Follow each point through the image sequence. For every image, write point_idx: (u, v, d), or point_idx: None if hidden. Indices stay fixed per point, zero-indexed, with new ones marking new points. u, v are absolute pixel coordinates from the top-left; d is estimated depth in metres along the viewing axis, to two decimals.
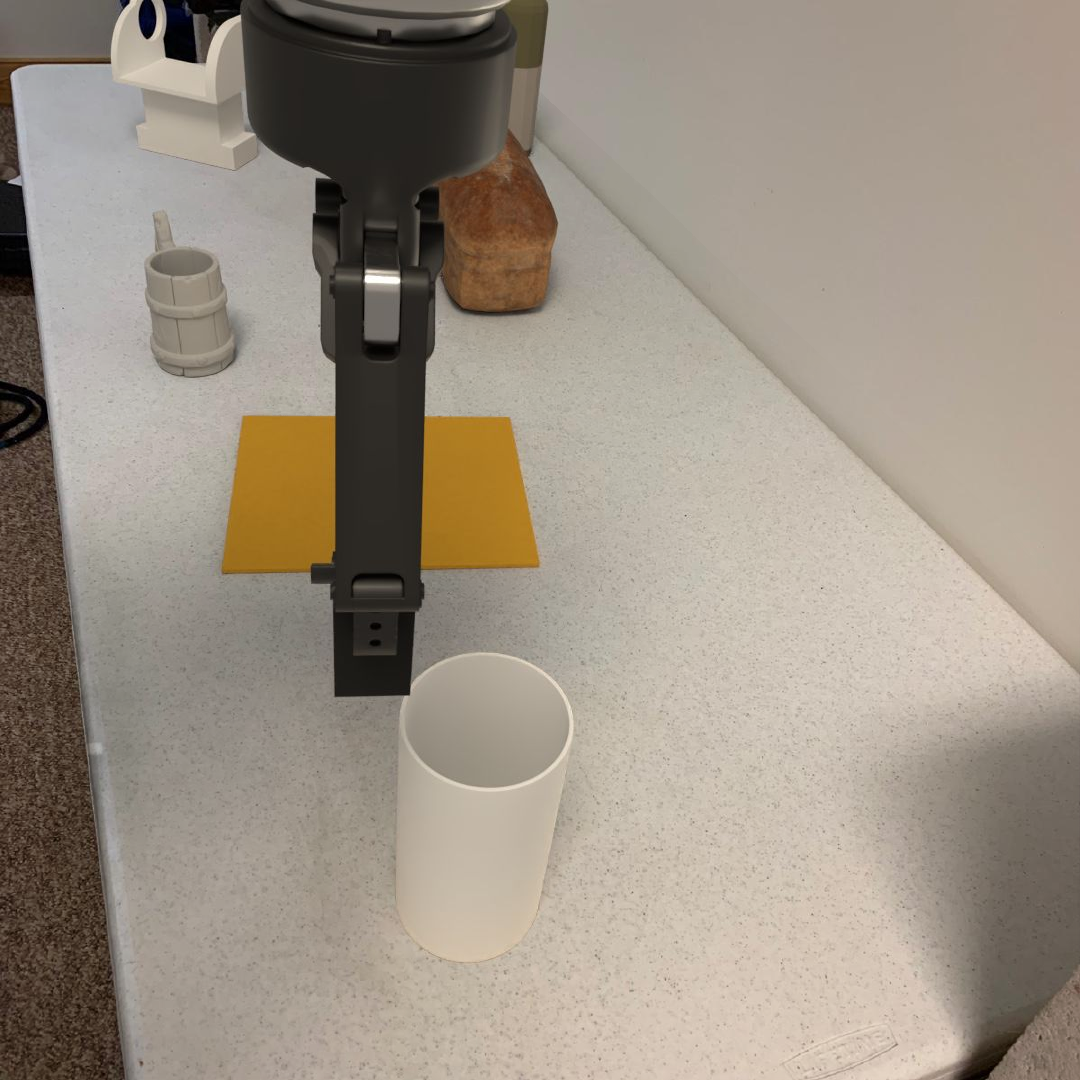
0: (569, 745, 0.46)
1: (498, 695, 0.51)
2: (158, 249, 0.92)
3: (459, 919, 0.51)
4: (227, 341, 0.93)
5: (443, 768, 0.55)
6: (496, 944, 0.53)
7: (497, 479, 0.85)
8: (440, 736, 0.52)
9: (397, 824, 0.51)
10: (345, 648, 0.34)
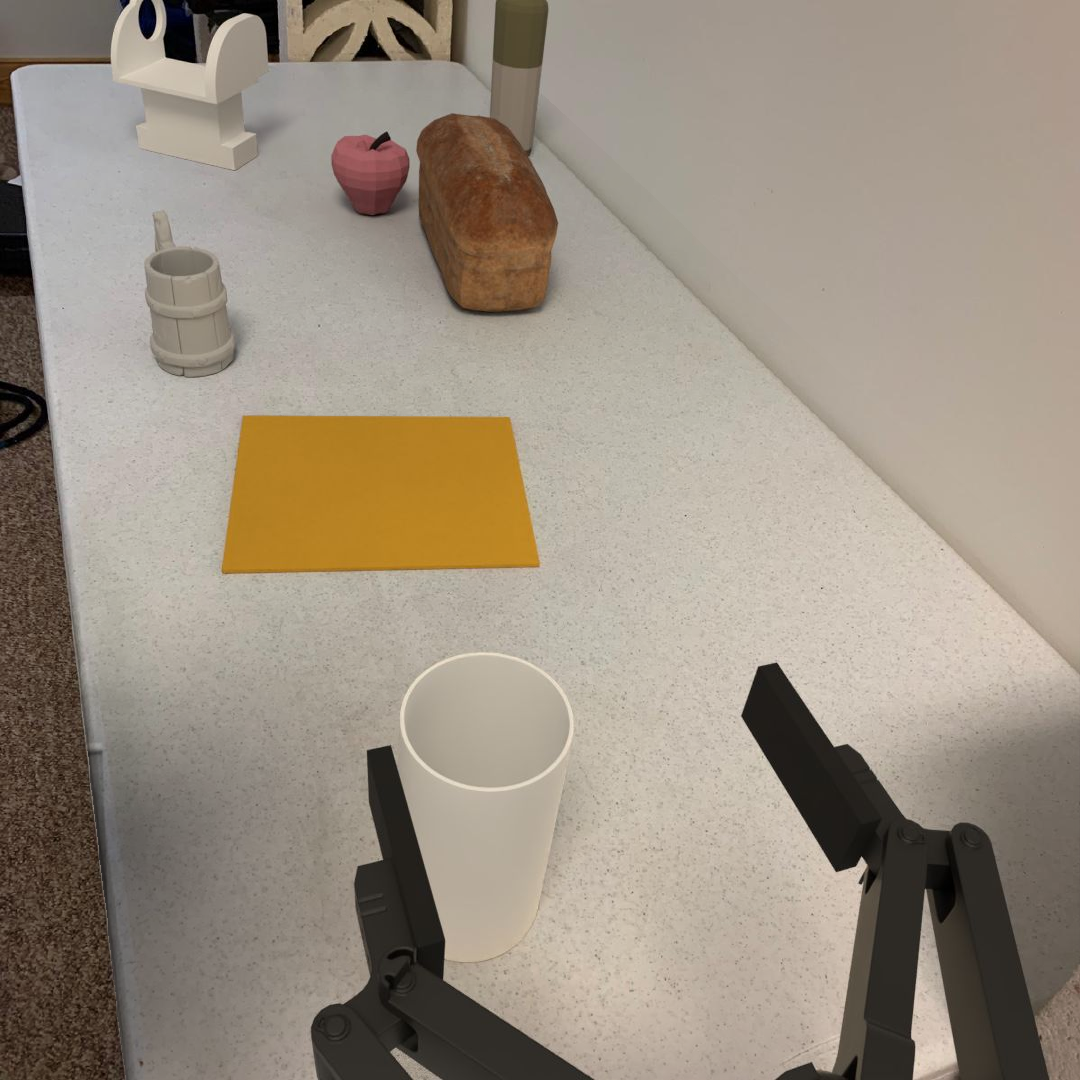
0: (569, 745, 0.46)
1: (499, 695, 0.51)
2: (158, 249, 0.92)
3: (459, 919, 0.51)
4: (227, 341, 0.93)
5: (443, 768, 0.55)
6: (496, 944, 0.53)
7: (497, 479, 0.85)
8: (441, 736, 0.52)
9: None
10: (385, 830, 0.29)
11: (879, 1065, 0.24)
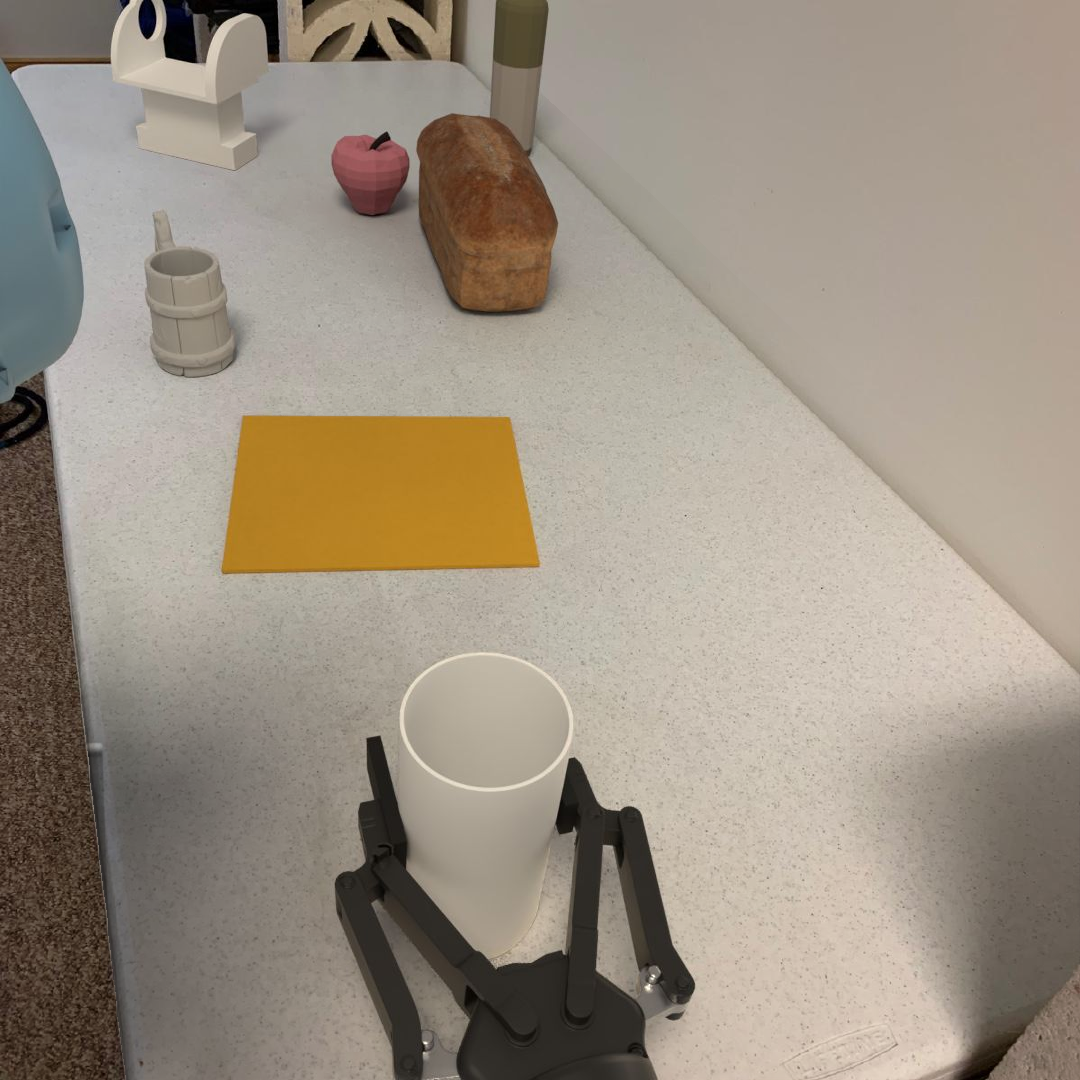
0: (569, 745, 0.46)
1: (498, 695, 0.51)
2: (158, 249, 0.92)
3: (459, 919, 0.51)
4: (227, 341, 0.93)
5: (443, 768, 0.55)
6: (496, 944, 0.53)
7: (497, 479, 0.85)
8: (440, 736, 0.52)
9: None
10: (375, 783, 0.51)
11: (579, 947, 0.45)
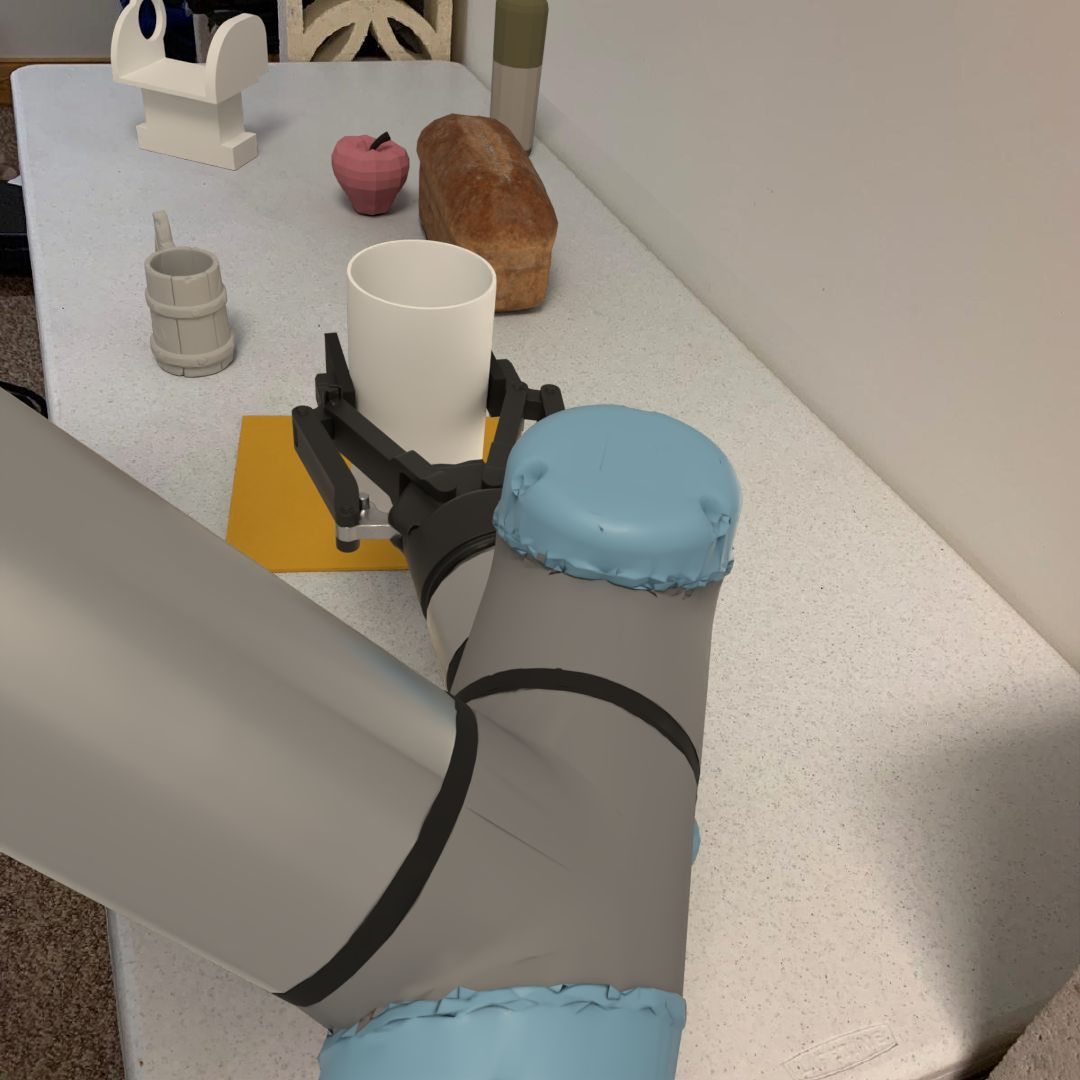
0: (491, 291, 0.54)
1: (438, 290, 0.59)
2: (158, 249, 0.92)
3: None
4: (227, 341, 0.93)
5: None
6: None
7: None
8: None
9: None
10: (331, 361, 0.59)
11: (496, 451, 0.53)
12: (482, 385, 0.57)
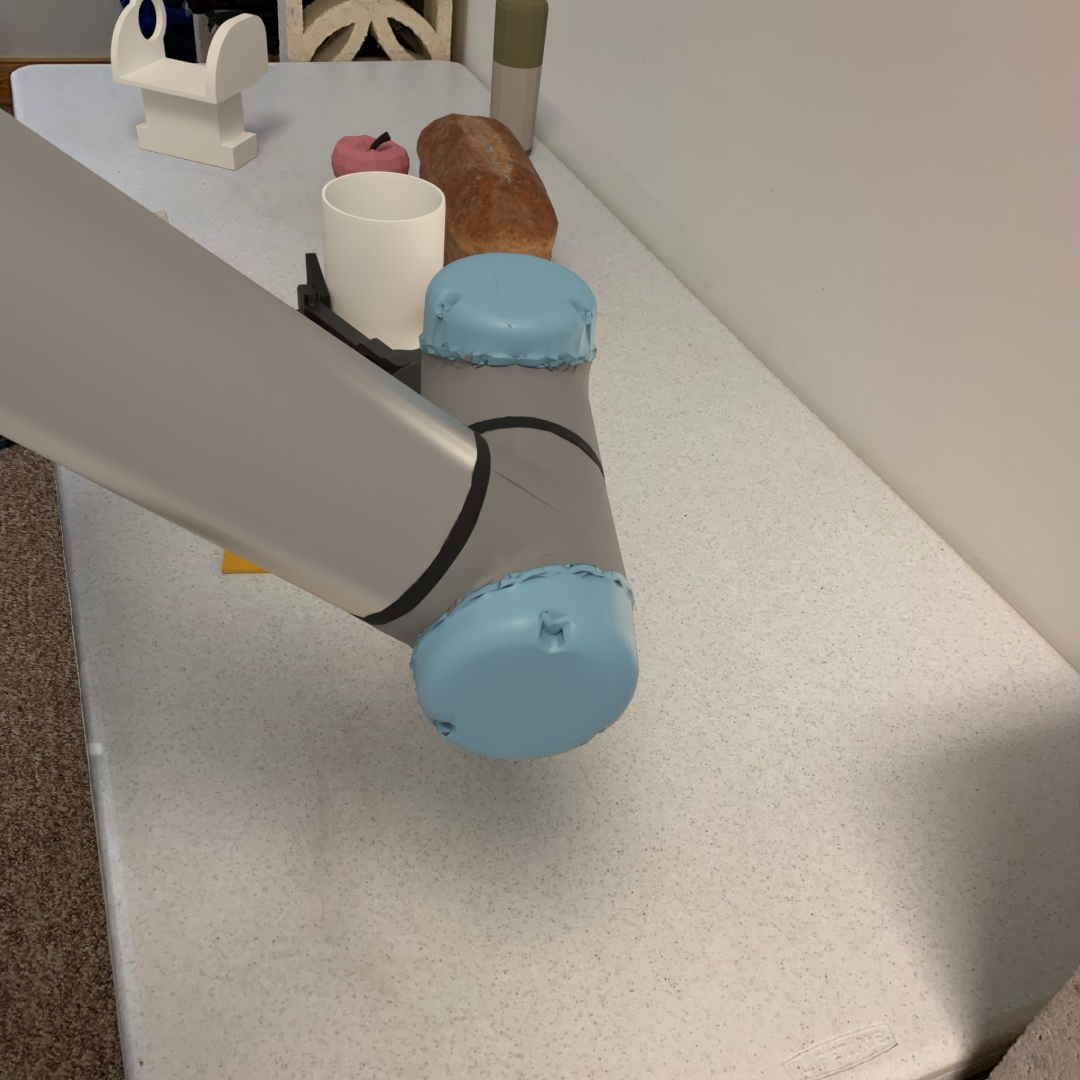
0: (440, 210, 0.66)
1: (399, 215, 0.71)
2: None
3: None
4: None
5: None
6: None
7: None
8: None
9: None
10: (310, 275, 0.70)
11: None
12: None
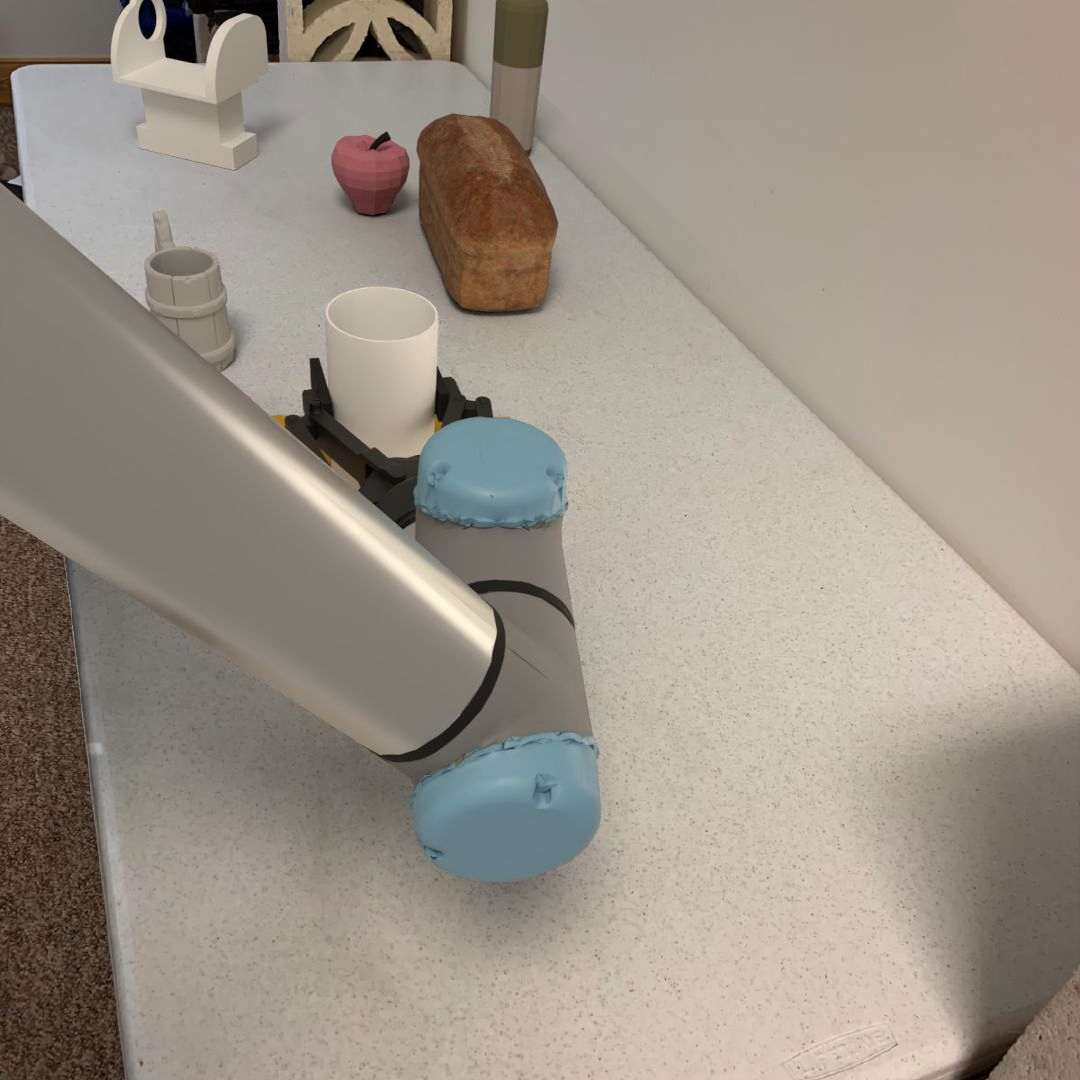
0: (433, 327, 0.72)
1: (396, 324, 0.77)
2: (158, 249, 0.92)
3: None
4: (227, 341, 0.93)
5: None
6: None
7: None
8: None
9: None
10: (314, 380, 0.77)
11: None
12: (429, 397, 0.75)
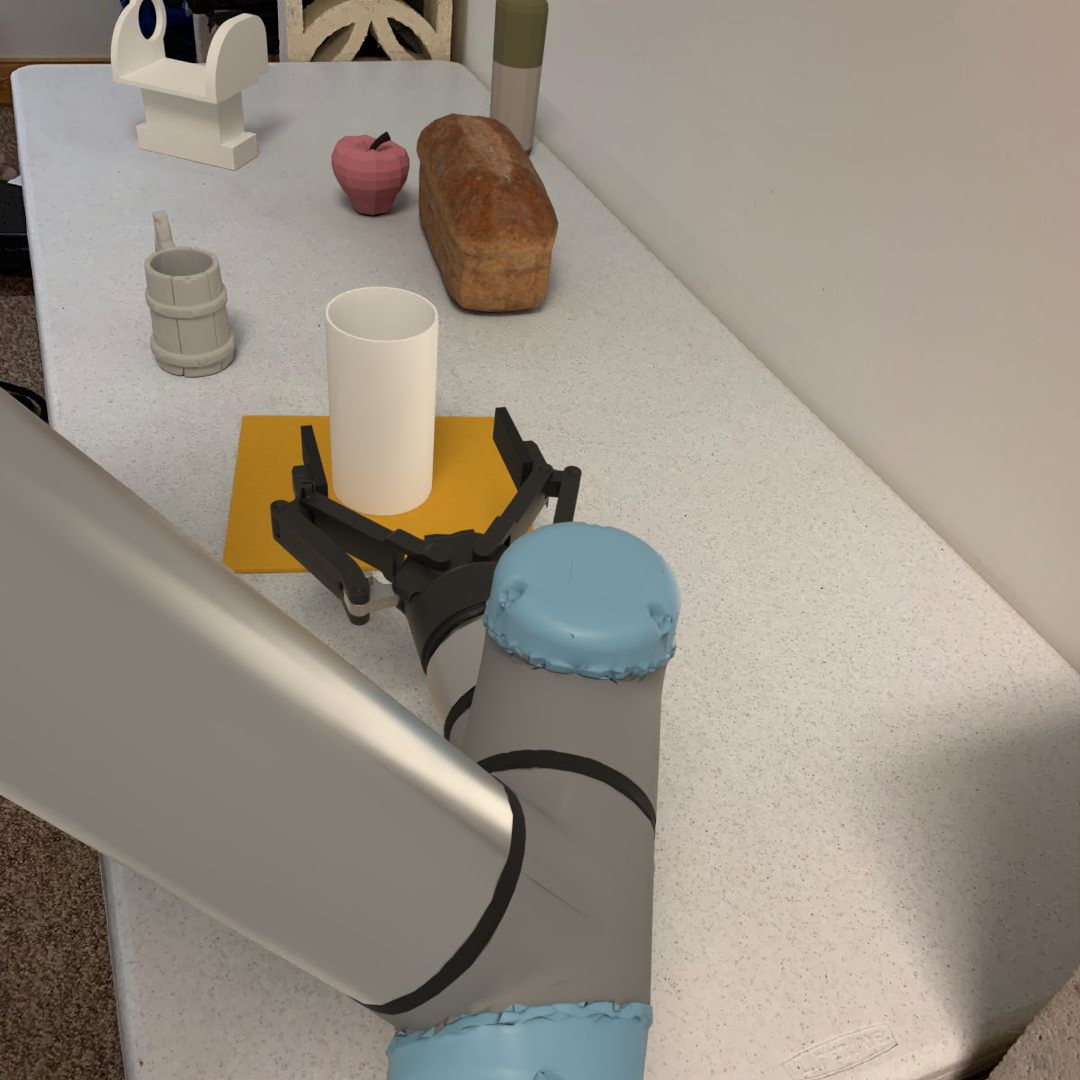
0: (433, 327, 0.72)
1: (396, 324, 0.77)
2: (158, 249, 0.92)
3: (369, 469, 0.77)
4: (227, 341, 0.93)
5: None
6: (397, 500, 0.79)
7: (497, 479, 0.85)
8: None
9: (329, 406, 0.77)
10: (306, 454, 0.65)
11: (497, 525, 0.60)
12: (429, 397, 0.75)
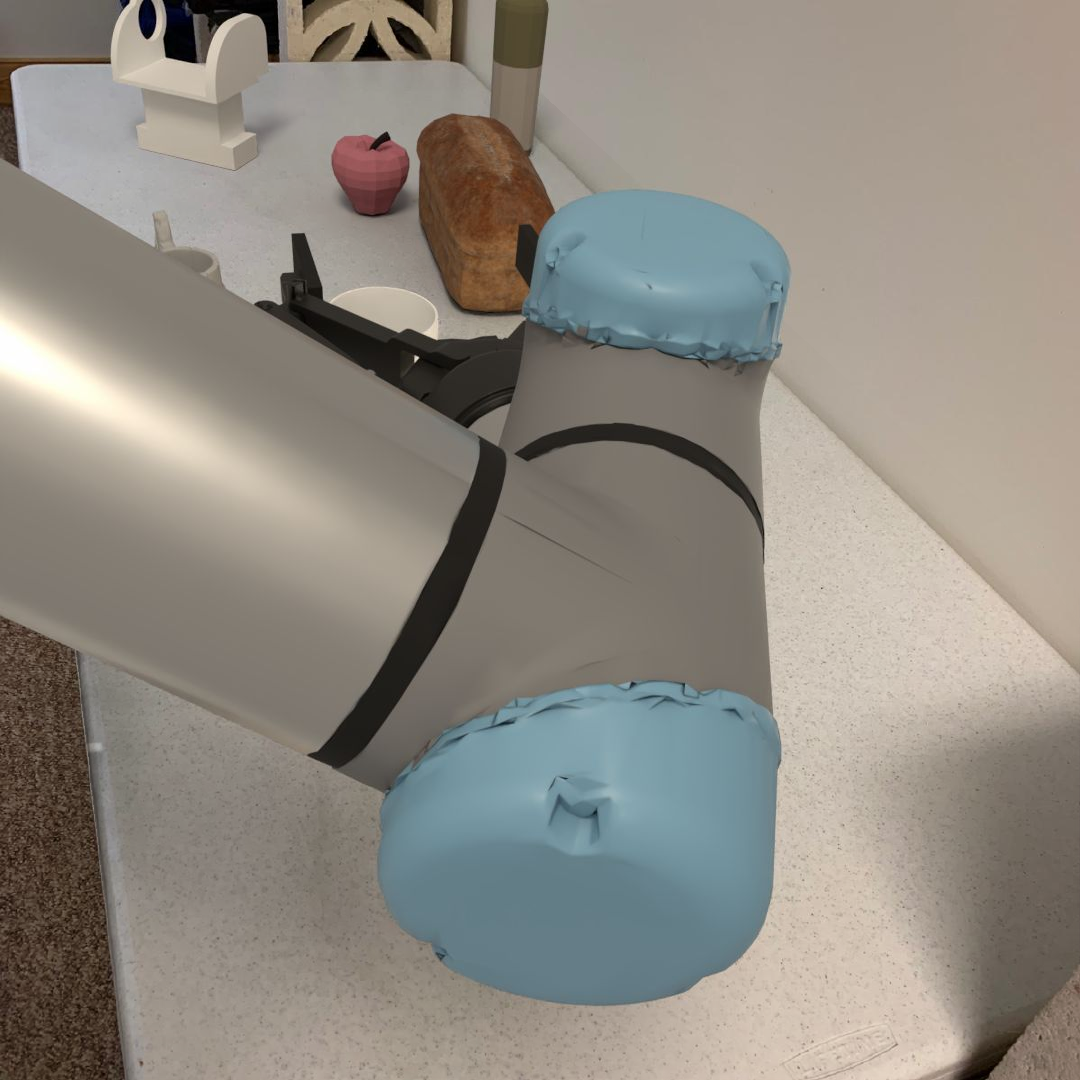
0: (433, 327, 0.72)
1: (396, 324, 0.77)
2: (158, 249, 0.92)
3: None
4: None
5: None
6: None
7: None
8: None
9: None
10: (298, 261, 0.55)
11: (524, 328, 0.50)
12: None
